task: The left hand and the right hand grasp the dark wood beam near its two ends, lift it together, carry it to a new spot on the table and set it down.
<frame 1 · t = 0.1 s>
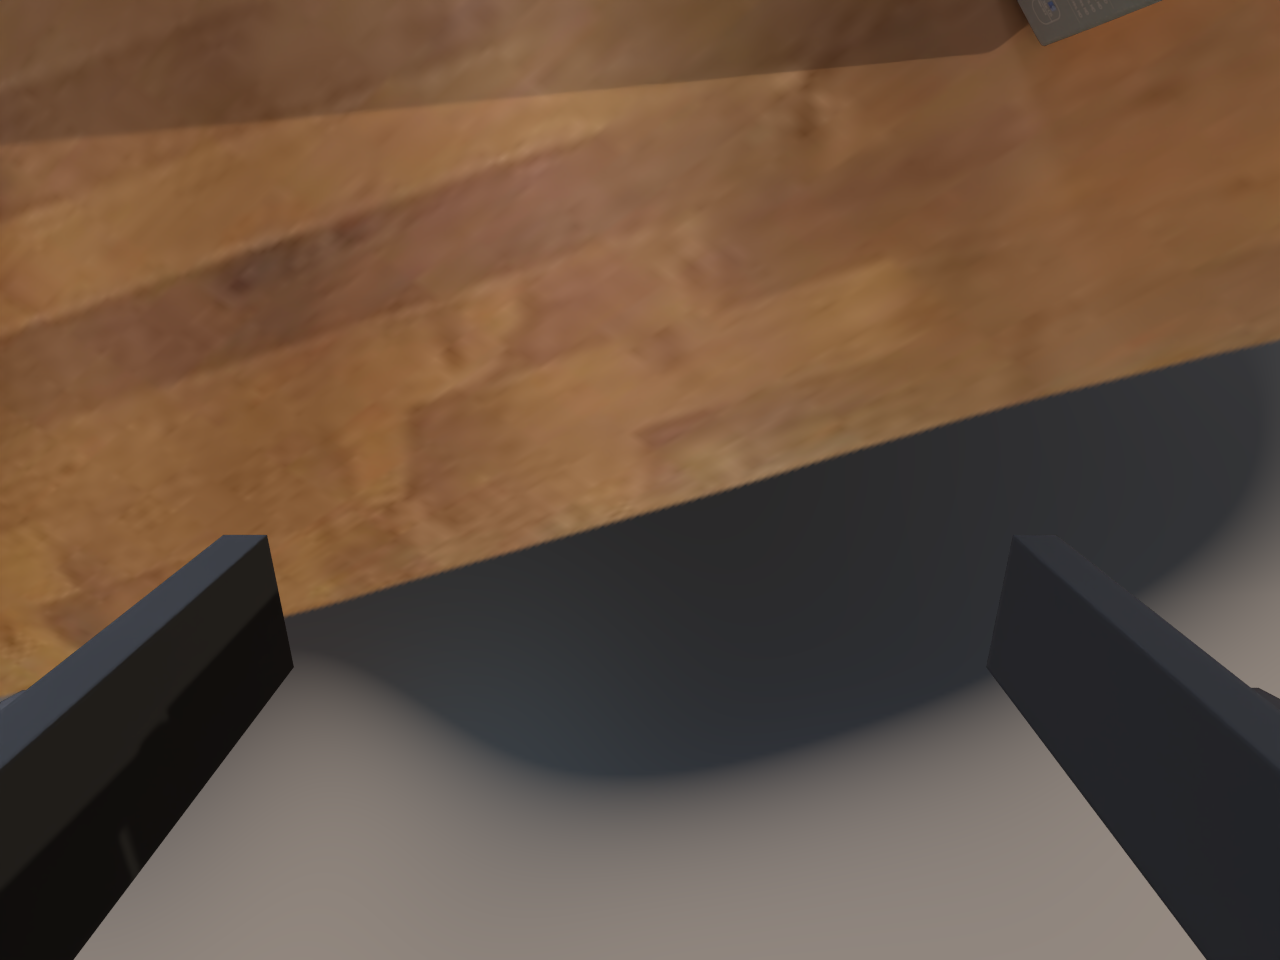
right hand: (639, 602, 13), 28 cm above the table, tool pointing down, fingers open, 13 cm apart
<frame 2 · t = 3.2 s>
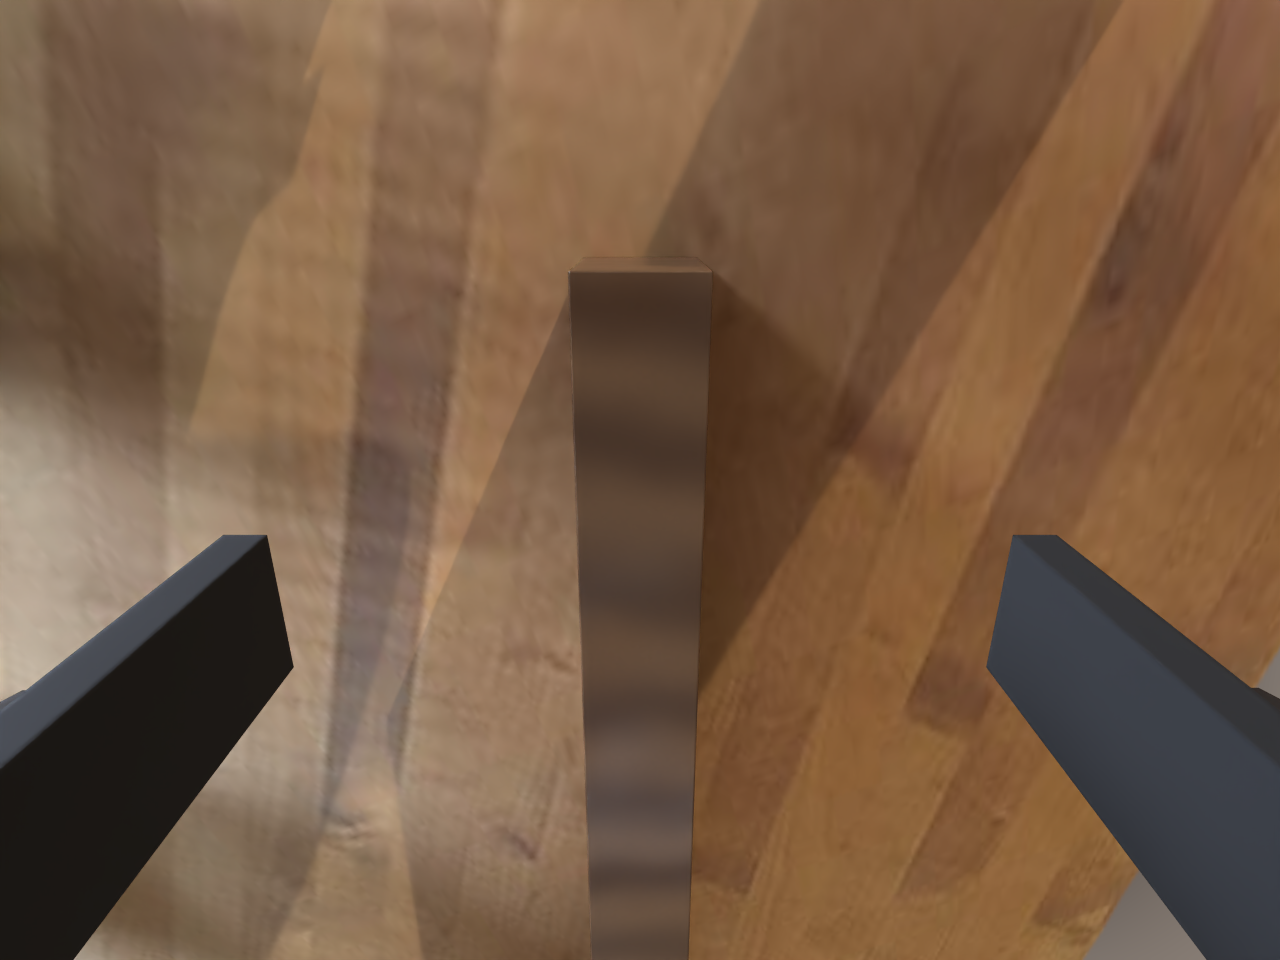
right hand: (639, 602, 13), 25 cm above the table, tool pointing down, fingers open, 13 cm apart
beam: (639, 699, 44), on the table
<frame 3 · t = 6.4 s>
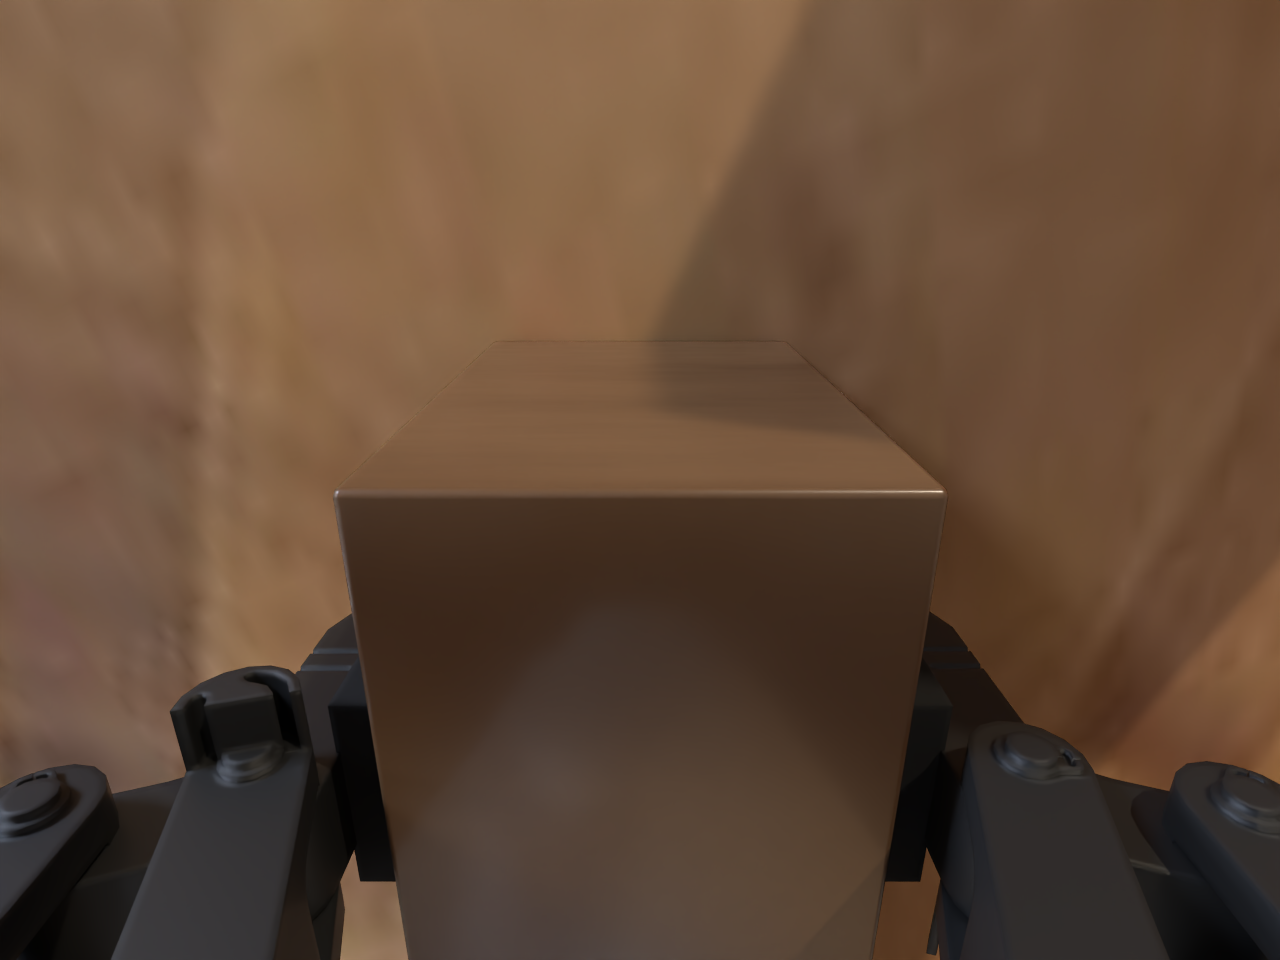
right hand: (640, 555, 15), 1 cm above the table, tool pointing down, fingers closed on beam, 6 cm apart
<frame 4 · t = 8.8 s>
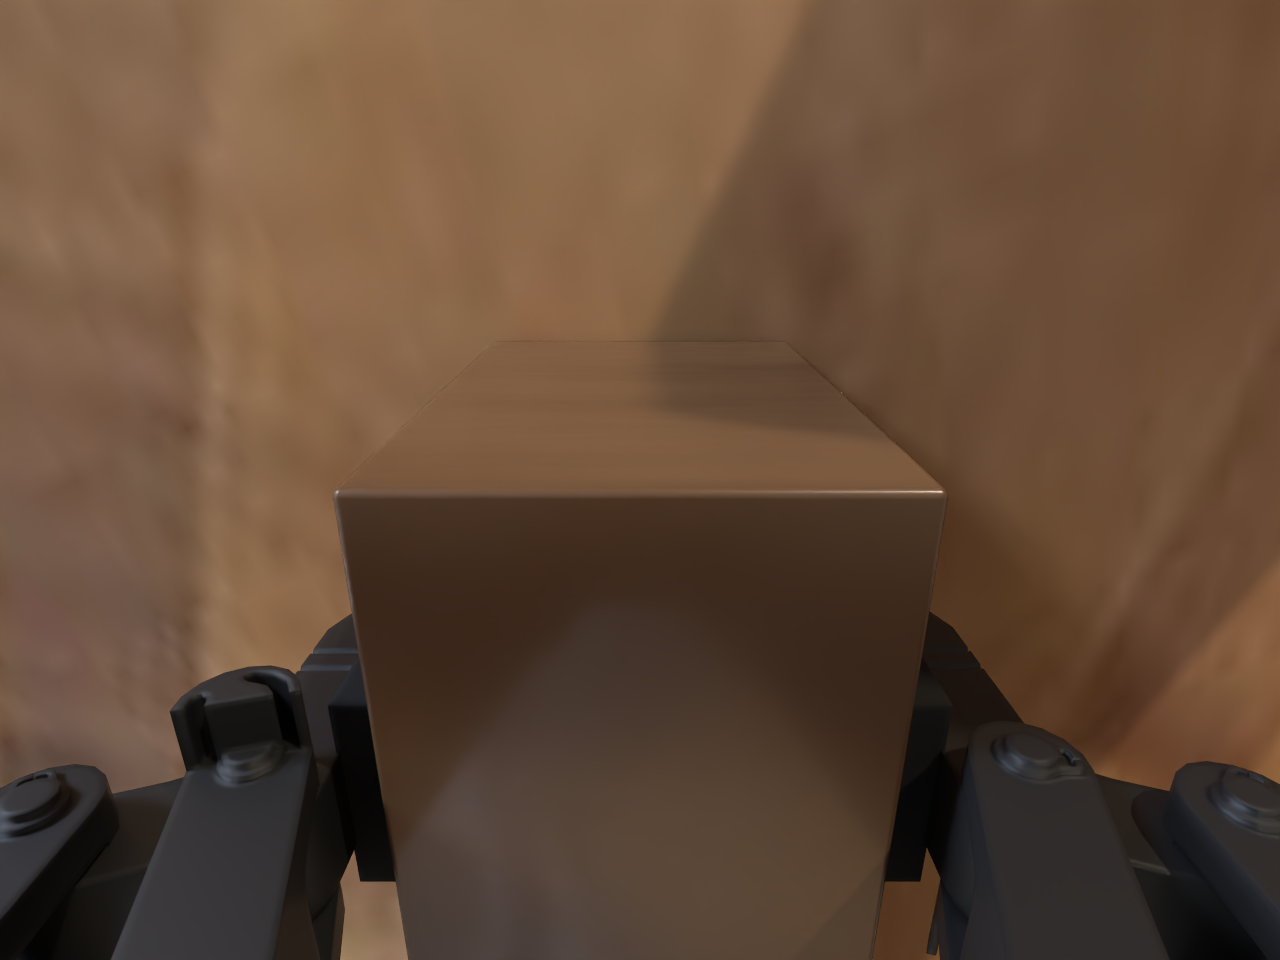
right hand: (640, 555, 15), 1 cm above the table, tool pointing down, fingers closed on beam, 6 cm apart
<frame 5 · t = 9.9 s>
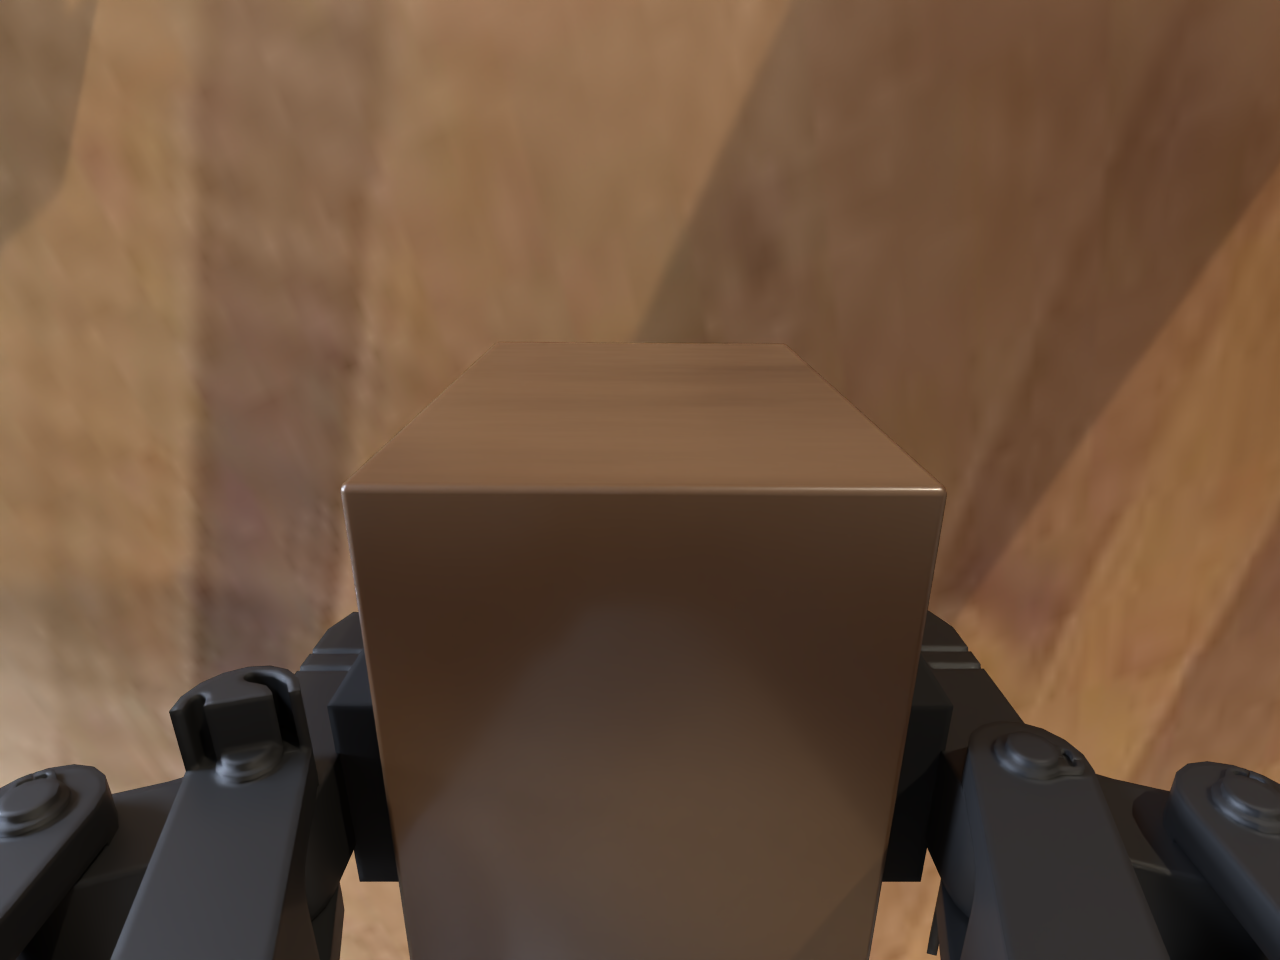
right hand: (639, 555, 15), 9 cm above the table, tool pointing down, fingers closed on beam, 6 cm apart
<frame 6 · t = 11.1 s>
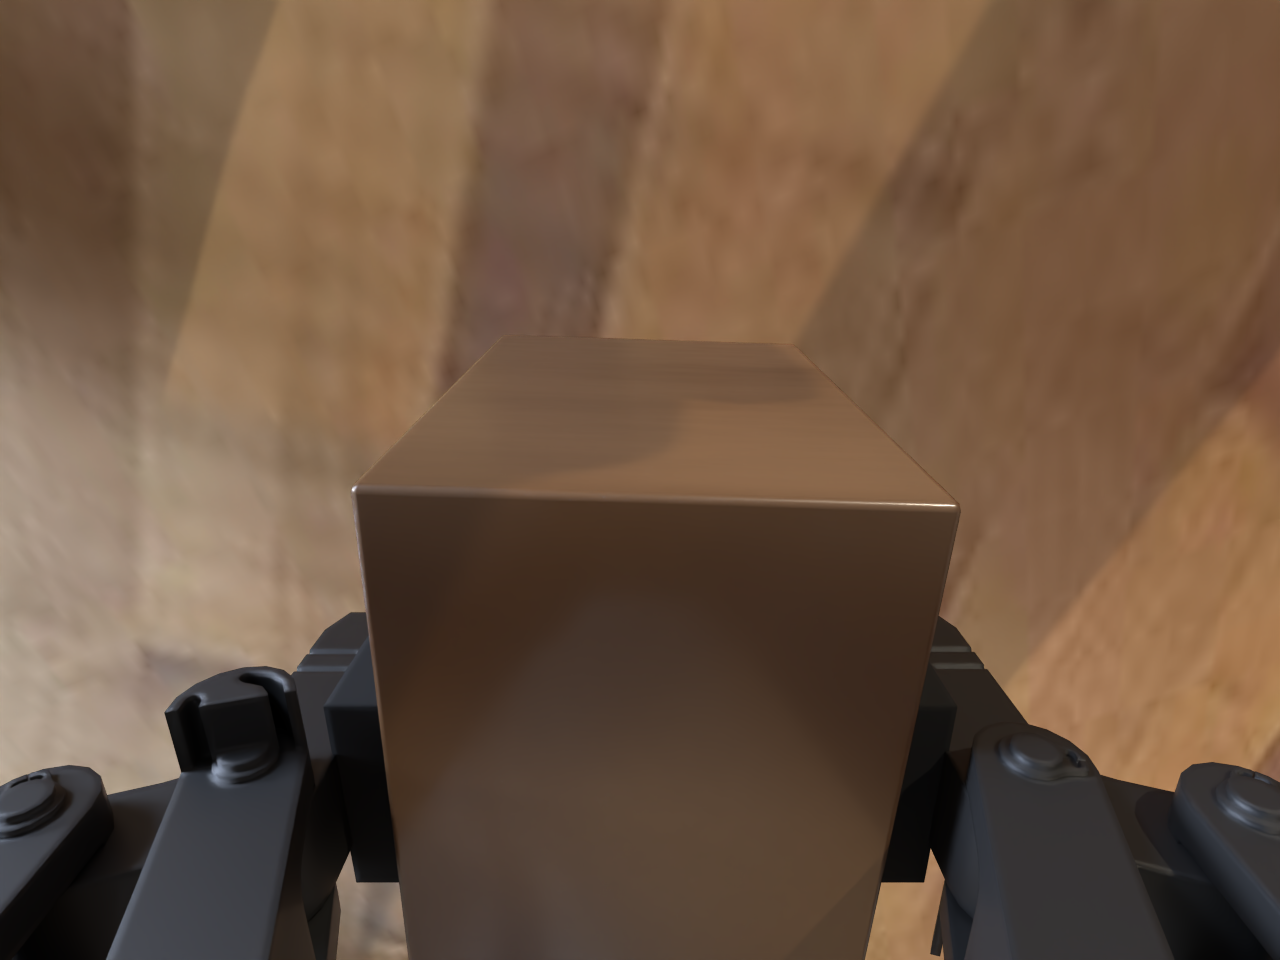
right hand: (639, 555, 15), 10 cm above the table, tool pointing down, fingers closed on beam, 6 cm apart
when the right hand's fingers open (1 cm above the table, at t = 13.5 s): beam stays where it is, on the table.
when the left hand's fingers open (4 cm above the table, at t = 13.7 s): beam stays where it is, on the table.
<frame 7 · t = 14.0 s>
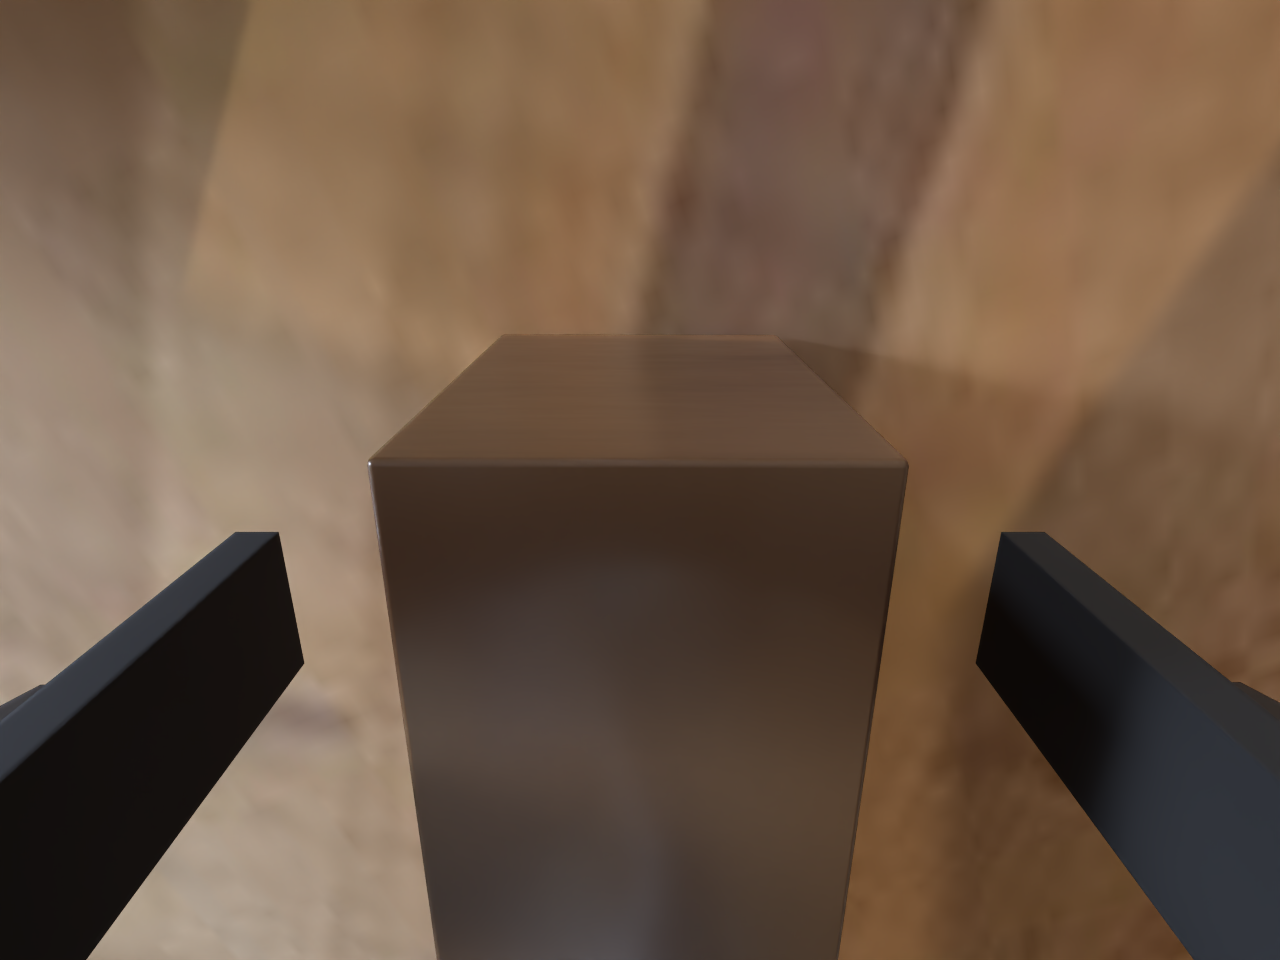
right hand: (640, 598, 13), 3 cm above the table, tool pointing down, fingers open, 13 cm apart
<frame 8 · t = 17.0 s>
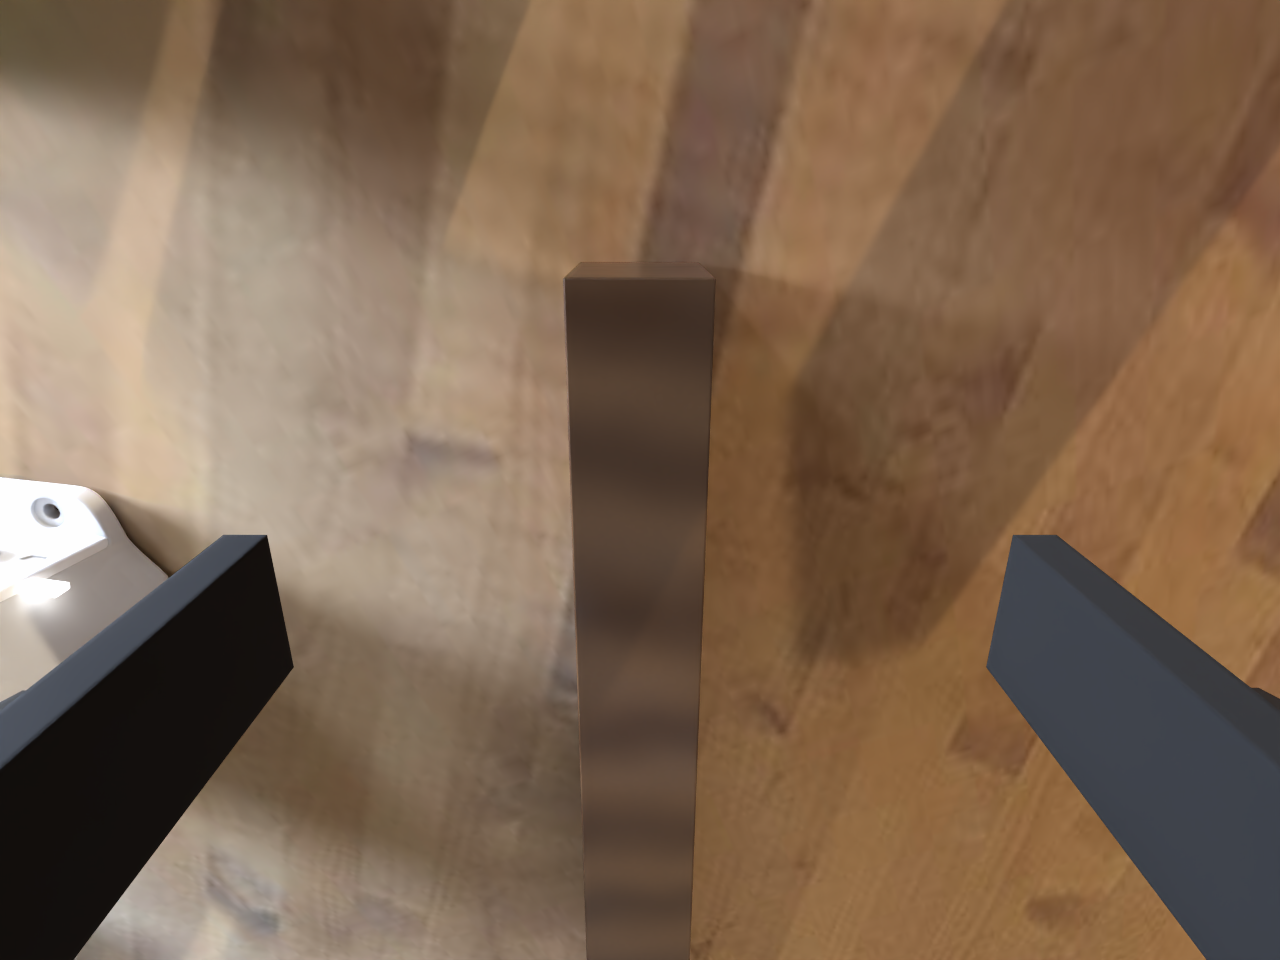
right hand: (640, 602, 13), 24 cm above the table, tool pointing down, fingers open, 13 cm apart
beam: (638, 717, 43), on the table
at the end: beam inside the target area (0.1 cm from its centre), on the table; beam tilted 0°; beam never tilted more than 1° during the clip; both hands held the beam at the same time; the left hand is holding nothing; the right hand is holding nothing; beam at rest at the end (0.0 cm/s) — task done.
